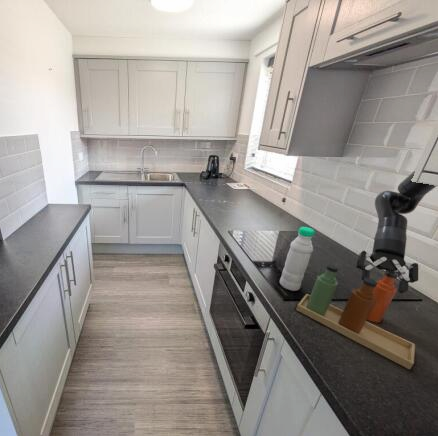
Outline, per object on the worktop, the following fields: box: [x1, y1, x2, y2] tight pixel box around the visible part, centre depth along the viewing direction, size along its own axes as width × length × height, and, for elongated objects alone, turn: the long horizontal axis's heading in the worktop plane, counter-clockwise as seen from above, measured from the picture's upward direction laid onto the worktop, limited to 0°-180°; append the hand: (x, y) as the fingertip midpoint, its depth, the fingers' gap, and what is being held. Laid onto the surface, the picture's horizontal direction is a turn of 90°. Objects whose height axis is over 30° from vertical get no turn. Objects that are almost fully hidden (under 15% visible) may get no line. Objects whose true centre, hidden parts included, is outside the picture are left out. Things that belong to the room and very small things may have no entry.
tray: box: [295, 293, 416, 370], centre depth 72 cm, size 27×9×2 cm, turn 41°
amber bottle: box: [338, 277, 377, 334], centre depth 69 cm, size 5×5×18 cm
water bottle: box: [279, 226, 315, 292], centre depth 87 cm, size 7×7×25 cm
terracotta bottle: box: [366, 270, 398, 323], centre depth 74 cm, size 5×5×18 cm
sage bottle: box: [307, 263, 339, 316], centre depth 75 cm, size 5×5×18 cm
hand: (383, 287), depth 74 cm, fingers open, 8 cm apart
